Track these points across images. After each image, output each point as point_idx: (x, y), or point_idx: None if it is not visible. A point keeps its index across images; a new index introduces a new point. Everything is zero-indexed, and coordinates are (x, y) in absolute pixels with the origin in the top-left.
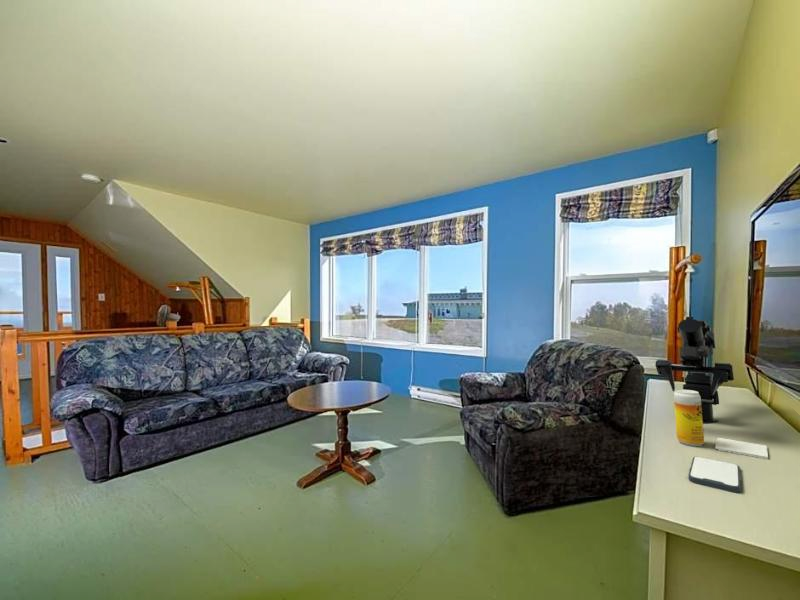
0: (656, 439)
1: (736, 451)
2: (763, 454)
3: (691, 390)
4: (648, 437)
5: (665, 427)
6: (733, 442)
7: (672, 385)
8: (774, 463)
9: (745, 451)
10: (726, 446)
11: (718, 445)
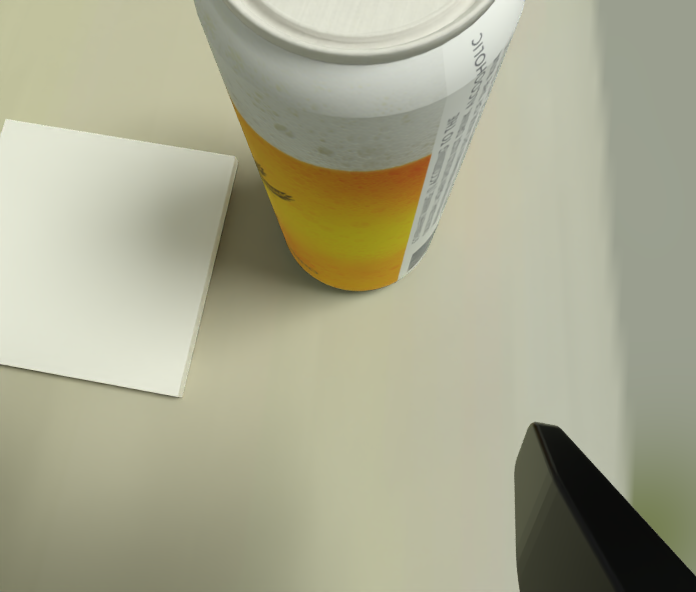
0: (552, 200)
1: (138, 142)
2: (12, 153)
3: (276, 33)
4: (601, 219)
5: (505, 571)
6: (106, 322)
7: (578, 476)
8: (7, 78)
9: (90, 160)
10: (169, 207)
11: (210, 206)
